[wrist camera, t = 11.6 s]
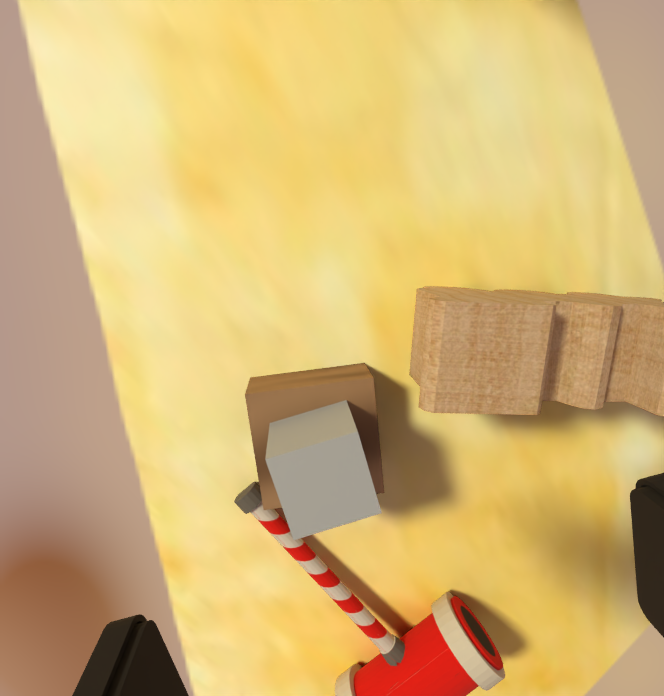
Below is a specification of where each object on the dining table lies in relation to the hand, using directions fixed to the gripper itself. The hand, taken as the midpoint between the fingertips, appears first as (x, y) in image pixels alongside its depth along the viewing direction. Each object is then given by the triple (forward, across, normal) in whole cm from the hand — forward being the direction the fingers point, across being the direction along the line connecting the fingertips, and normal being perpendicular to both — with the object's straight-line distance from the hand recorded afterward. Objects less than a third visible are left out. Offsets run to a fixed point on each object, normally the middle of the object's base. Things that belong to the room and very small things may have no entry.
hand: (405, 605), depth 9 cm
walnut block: (+23, +2, +6) cm, 24 cm away
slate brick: (+19, +2, +6) cm, 20 cm away
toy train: (+24, -12, +3) cm, 27 cm away
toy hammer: (+23, +3, +22) cm, 32 cm away
